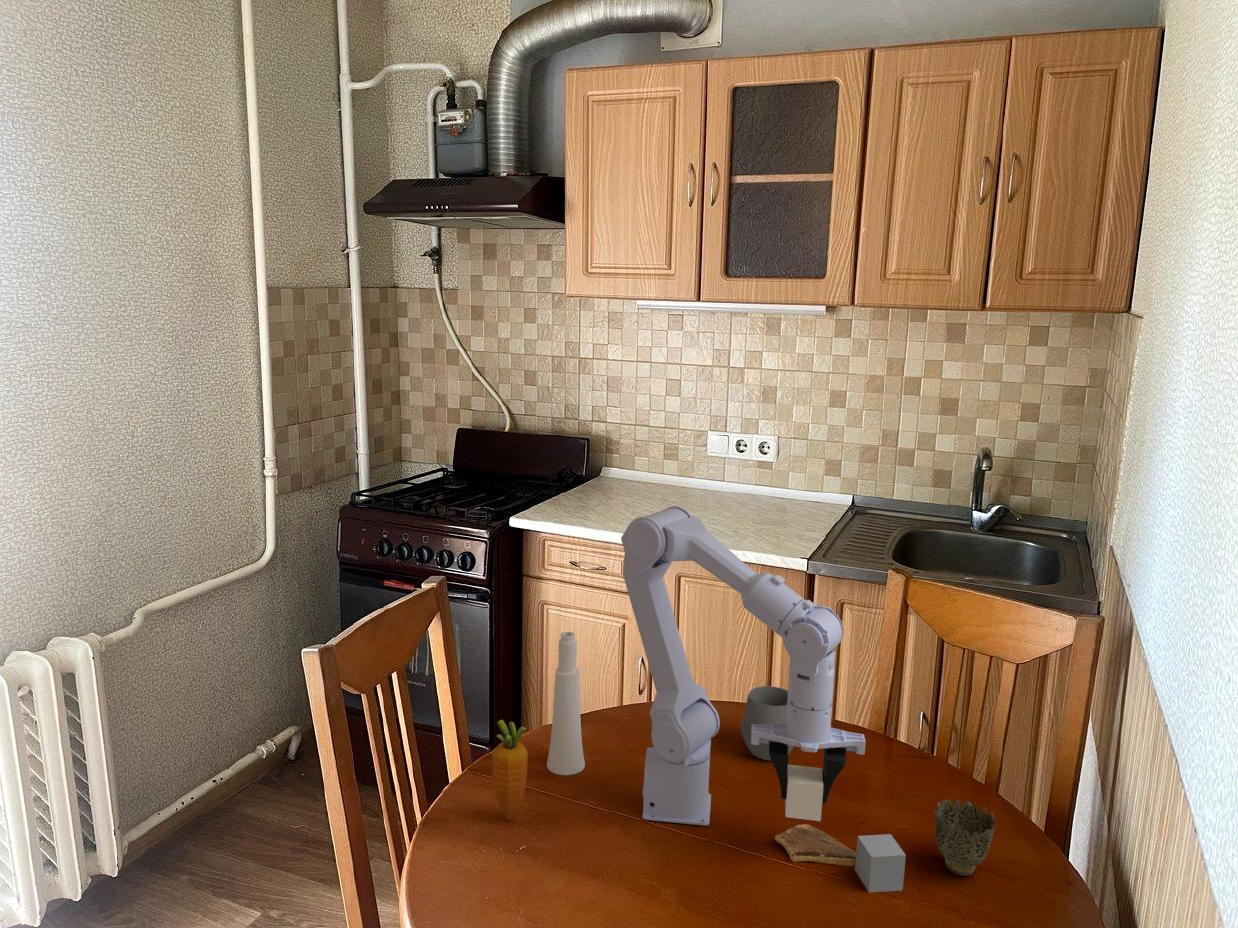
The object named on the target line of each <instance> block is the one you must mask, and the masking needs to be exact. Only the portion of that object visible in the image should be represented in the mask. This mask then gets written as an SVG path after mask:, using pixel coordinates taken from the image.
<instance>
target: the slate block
mask: <svg viewBox="0 0 1238 928" xmlns="http://www.w3.org/2000/svg"><path fill="white" fill-rule="evenodd" d="M855 852H856V864H855V866H854V871H855V873H856V875H857V876H858V878H859V880H860V881H861V882H862V883H863V885H864V887H865V889H866V891H867V892H868V893H881V892H884V893H885V892H896V891H903V888H904V878H905V871H906V870H905V869H906V859H907V858H906V857H907V855H906V853H905V852H904V851H903V848H901V846H900V845H899V843H898V841H896V839H895V838H894V837H893V835H892V834H891V833H887V834H870V835H867V834H866V835H857V840H856V851H855Z"/></svg>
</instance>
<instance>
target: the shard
mask: <svg viewBox="0 0 1238 928" xmlns="http://www.w3.org/2000/svg"><path fill="white" fill-rule="evenodd" d="M774 840H775V841H776V842H777V843H778V844H780V846H783V848H784V849H785V851H786V853H788V856H789V858H790V860H791V862H793V863H797V862H813V863H821V864H828V865H837V866H845V867H855V864H856V852H857V851H854V850H852V849H851V848H849V847H848V846H847V845H845V844H844V843H843V842H841V841H839V840H837V839H836V838H835V837H833V836H831V835H829V834H828V833H826V832H824V831H823V830H821V829H819V828H816V827H815V826H813V825H812V824H806V823H805V824H797V825H795V826H792V827H791V828H788V829H786V830H785V831H782V832H780V833H778V834H776V835H775V836H774Z"/></svg>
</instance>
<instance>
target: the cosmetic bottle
mask: <svg viewBox="0 0 1238 928" xmlns="http://www.w3.org/2000/svg"><path fill="white" fill-rule="evenodd" d="M577 643H578V642H577V639H576V634H575V633H574V632H572V631H565V632H561V633H560V639H559V640H558V663H557V665H558V667H557V668H556V669H555V673H554V674H555V675H554V687H553V689H554V690H553V707H552V721H551V722H552V723H551V733H550V734H551V735H550V744H549V749H548V750H549V751H548V755H547V756H548V757H547V761H546V768H547V769H548V771H549V772H550V773H552V774H555V775H558V776H572V775H573V776H574V775H576V774H578V773H580V772H582V771H583V770H584V769H585V767H586V762H585V757H584V756H585V755H584V751H583V750H584V749H583V742H582V741H583V738H582V726H581V724H582V723H581V720H582V719H581V693H580V692H581V690H580V689H581V686H580V670H579V669H578V668H577V655H578V654H577V650H578V649H577Z"/></svg>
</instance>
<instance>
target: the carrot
mask: <svg viewBox="0 0 1238 928" xmlns="http://www.w3.org/2000/svg"><path fill="white" fill-rule="evenodd" d="M496 724H497V727H498V728H499V729H500V731H501V733H502V734H503V735H502V734H501V733H499V734H496V738H498V739H499V741H501V742H500V743H499V744H497V746H496V747H495V748H494V749H493V750H492V753H491V764H492V766H491V769H492V782H493V787H494V792H495V795H496V800H497V802H498V805H499V807H500V810H501V811H502V813H503V816H504V817H505V819H506V820H507V821H509V822H510V821H512V820H513V819H514V818H515V816H516V814H517V813H518V811H519V809H520V807H521V804H522V801H523V799H524V795H525V792H526V785H527V780H528V779H527V778H528V761H529V760H528V759H529V754H528V750H527V749H526V747H525V746H524V744H522V743H521V742H519V741H520V739H521V738H522V736H523V734H524V733H525V732H526V729H527V728H526V727H524V726H521V727H519V729H518V730H517V728H516V724H515V722H513V721H510V722H508V726H509V728H508V726H507V724H506V723H505V721H504V719H500V720H498V721H497V722H496ZM509 730H510V731H509Z"/></svg>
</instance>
